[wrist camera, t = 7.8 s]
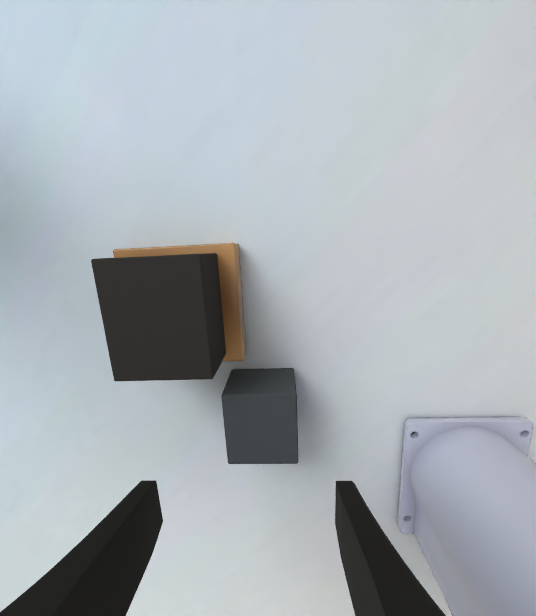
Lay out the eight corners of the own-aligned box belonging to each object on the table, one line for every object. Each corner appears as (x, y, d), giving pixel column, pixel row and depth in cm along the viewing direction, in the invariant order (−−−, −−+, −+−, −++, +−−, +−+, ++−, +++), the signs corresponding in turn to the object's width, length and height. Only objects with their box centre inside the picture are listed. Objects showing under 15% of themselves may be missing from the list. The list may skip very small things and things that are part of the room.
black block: (226, 353, 16) (213, 379, 12) (146, 356, 16) (113, 381, 13) (217, 253, 14) (200, 253, 11) (130, 257, 15) (89, 259, 11)
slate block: (295, 427, 18) (298, 464, 15) (236, 428, 18) (227, 464, 15) (293, 367, 17) (296, 393, 14) (231, 369, 17) (220, 394, 14)
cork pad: (246, 351, 17) (243, 361, 16) (144, 354, 18) (132, 364, 16) (238, 243, 16) (234, 242, 14) (127, 249, 16) (111, 249, 15)
